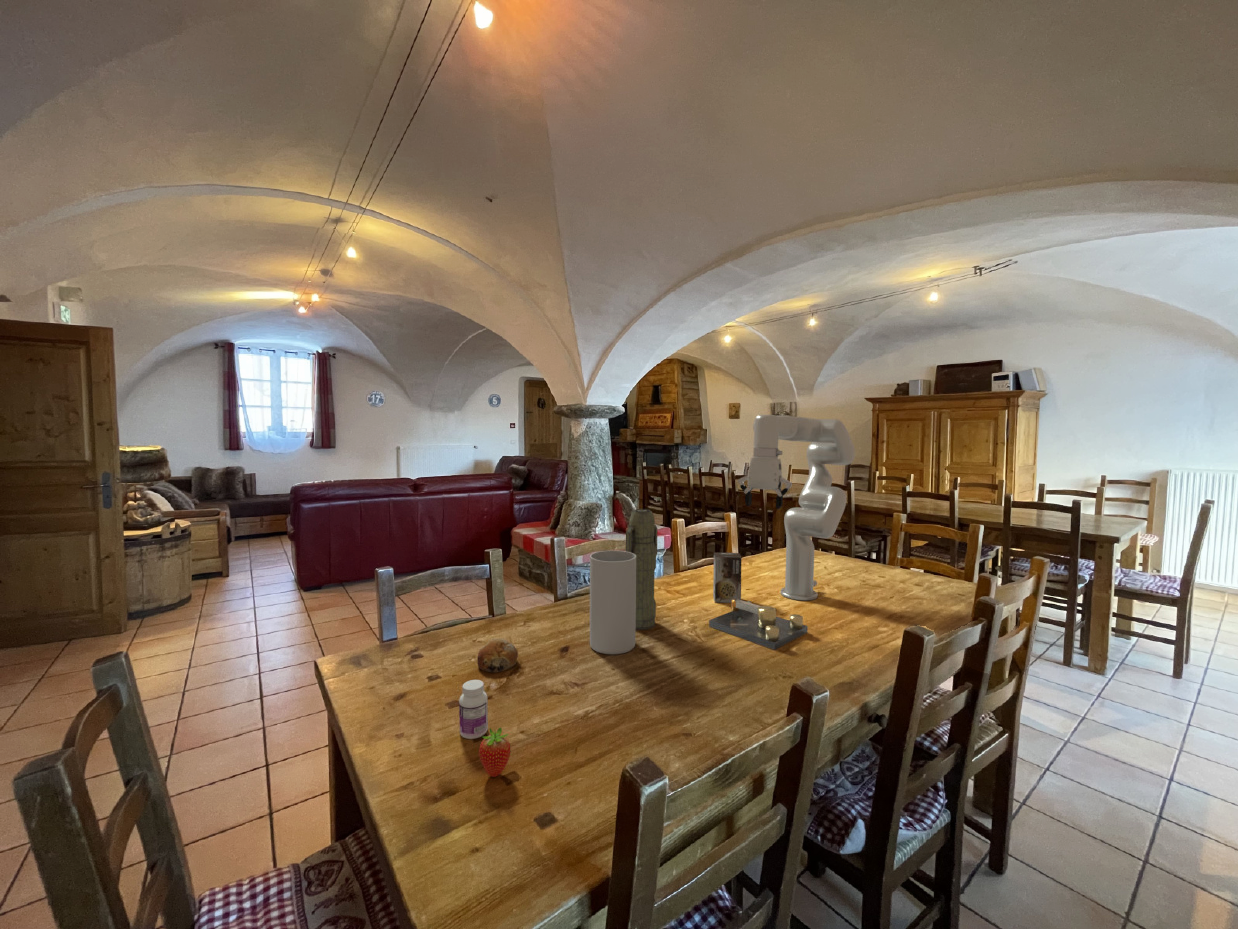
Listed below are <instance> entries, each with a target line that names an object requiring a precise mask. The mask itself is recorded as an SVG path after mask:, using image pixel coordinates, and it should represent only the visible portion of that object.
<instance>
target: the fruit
mask: <svg viewBox="0 0 1238 929" xmlns="http://www.w3.org/2000/svg"><path fill="white" fill-rule="evenodd" d="M502 731H503V728H502V727H499V728H498V729H497V730H496V729H494V731H493V729H492V728H491V727H490V728H489V733H490V734H489V735H487V736H486V735H485V736H484V735H482V736H481V737H482V738H483V739H482V741H481V743H480V745H479V749H478V756H479V760H480V763H481V765H482V766H483V769H484V770H485V772H486V774H487V775H488V776H490V777H493V778H494V777H498V776H499V775H500V774H502V772H503V771H504V770H505V768H506V767H507V764H508V762H509V760H510V755H511V744H510V742H509V739H507V738H506V737H508V735H509V733H507V734H502V733H503V732H502ZM501 734H502V735H501Z"/></svg>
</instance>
